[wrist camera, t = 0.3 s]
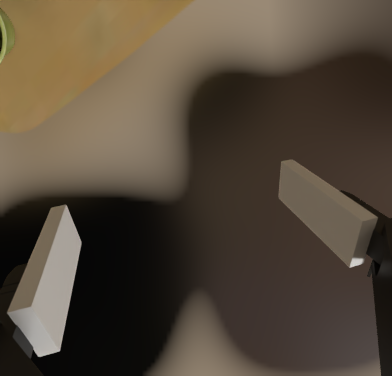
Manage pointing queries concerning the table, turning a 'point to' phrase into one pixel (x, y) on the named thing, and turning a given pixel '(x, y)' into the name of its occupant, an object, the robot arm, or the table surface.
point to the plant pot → (6, 35)
